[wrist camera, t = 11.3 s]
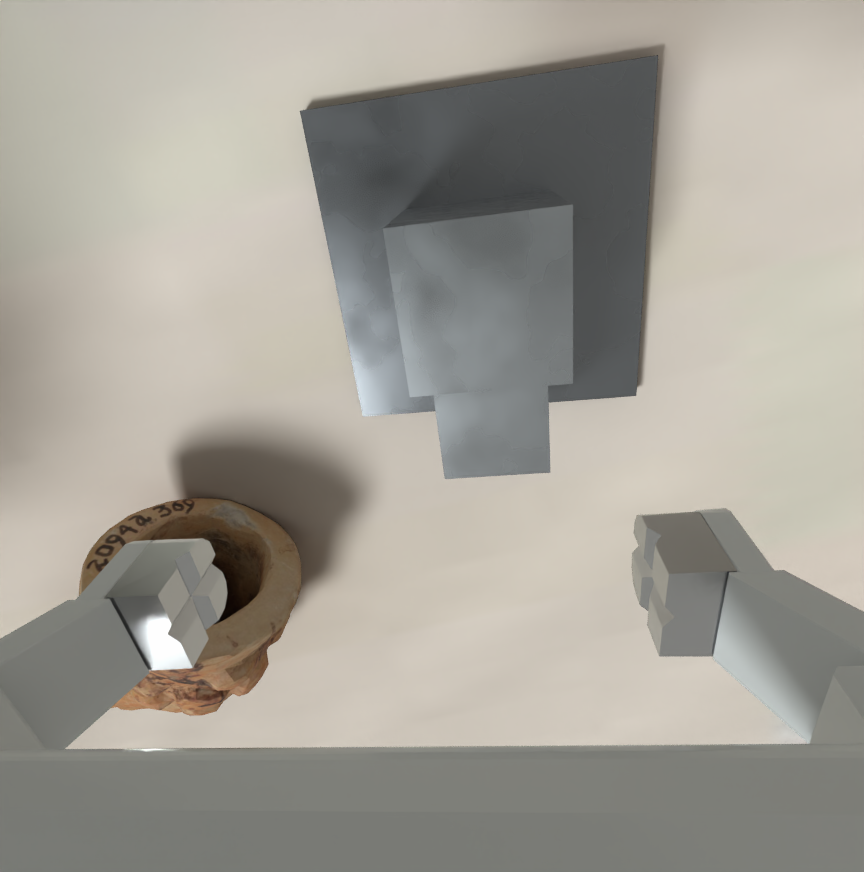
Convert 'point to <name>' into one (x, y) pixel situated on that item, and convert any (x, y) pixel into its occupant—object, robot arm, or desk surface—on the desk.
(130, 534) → the clay pipe
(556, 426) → the desk surface
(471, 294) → the stepped gray block
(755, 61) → the desk surface
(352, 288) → the duct plate
